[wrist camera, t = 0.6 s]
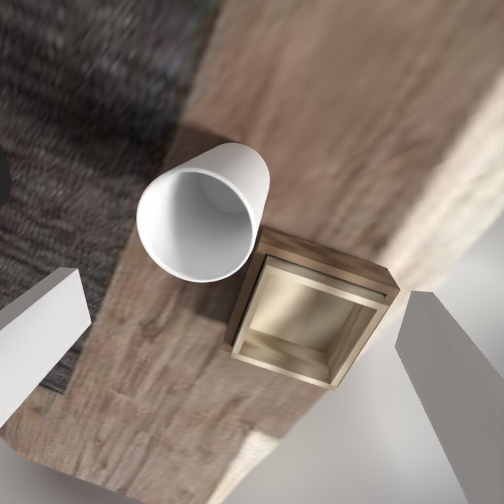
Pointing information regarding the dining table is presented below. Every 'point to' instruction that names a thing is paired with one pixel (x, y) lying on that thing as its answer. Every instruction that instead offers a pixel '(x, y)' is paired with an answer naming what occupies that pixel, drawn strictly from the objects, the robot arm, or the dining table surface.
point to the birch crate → (305, 322)
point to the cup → (205, 213)
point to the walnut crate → (313, 259)
